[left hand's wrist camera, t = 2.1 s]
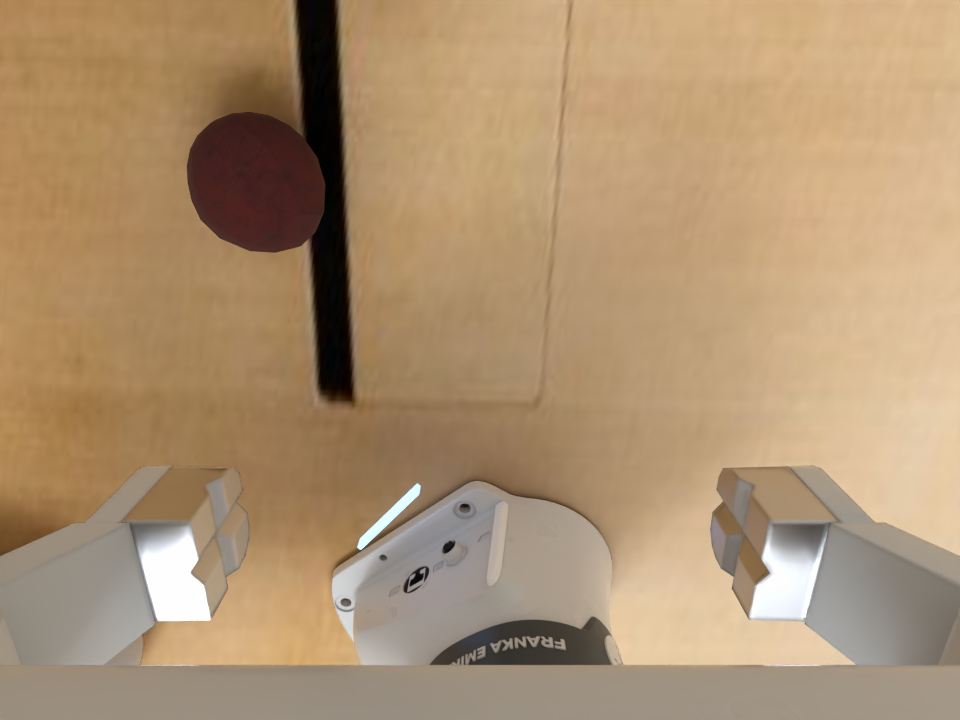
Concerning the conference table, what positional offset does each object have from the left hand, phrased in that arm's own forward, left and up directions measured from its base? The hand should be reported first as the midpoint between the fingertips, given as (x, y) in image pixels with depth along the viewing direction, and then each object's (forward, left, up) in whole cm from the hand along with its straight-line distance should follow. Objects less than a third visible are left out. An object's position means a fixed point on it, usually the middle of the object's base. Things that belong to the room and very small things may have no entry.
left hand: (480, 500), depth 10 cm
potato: (-10, +8, -30) cm, 32 cm away
